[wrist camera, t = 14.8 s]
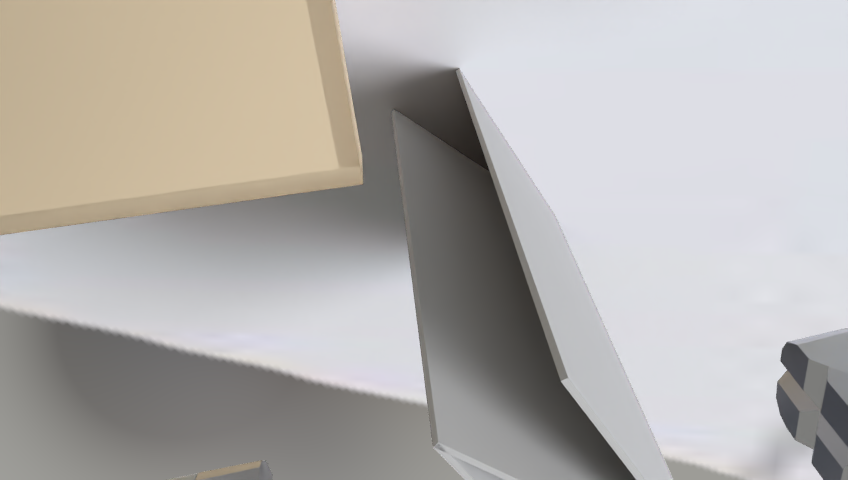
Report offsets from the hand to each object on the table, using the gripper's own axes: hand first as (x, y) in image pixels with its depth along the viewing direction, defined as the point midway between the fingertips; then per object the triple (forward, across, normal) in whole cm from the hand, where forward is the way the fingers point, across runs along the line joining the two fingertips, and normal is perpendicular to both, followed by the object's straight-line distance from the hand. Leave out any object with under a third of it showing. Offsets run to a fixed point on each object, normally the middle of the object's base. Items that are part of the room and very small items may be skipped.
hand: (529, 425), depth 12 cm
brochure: (+40, -5, +18) cm, 45 cm away
